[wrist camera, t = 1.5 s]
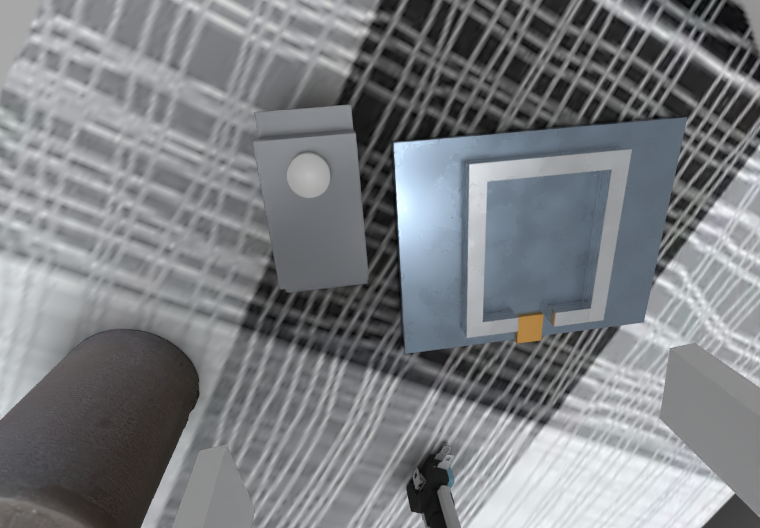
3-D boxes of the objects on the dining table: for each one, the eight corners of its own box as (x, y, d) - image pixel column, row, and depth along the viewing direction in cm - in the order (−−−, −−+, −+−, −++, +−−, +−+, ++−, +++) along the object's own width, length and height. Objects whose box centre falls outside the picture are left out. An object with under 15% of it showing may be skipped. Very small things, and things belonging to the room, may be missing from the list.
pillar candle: (223, 403, 33) (149, 621, 19) (115, 448, 33) (-34, 695, 20) (152, 306, 29) (-4, 491, 15) (31, 359, 30) (-227, 585, 16)
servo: (295, 247, 29) (281, 319, 20) (273, 107, 25) (242, 115, 16) (357, 240, 29) (372, 308, 20) (344, 101, 26) (354, 106, 16)
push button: (421, 435, 37) (453, 548, 28) (471, 448, 38) (517, 559, 29) (390, 486, 39) (410, 607, 30) (439, 497, 40) (472, 615, 31)
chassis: (403, 348, 33) (408, 365, 31) (391, 141, 27) (396, 145, 25) (634, 318, 35) (653, 332, 33) (675, 116, 28) (702, 118, 26)
